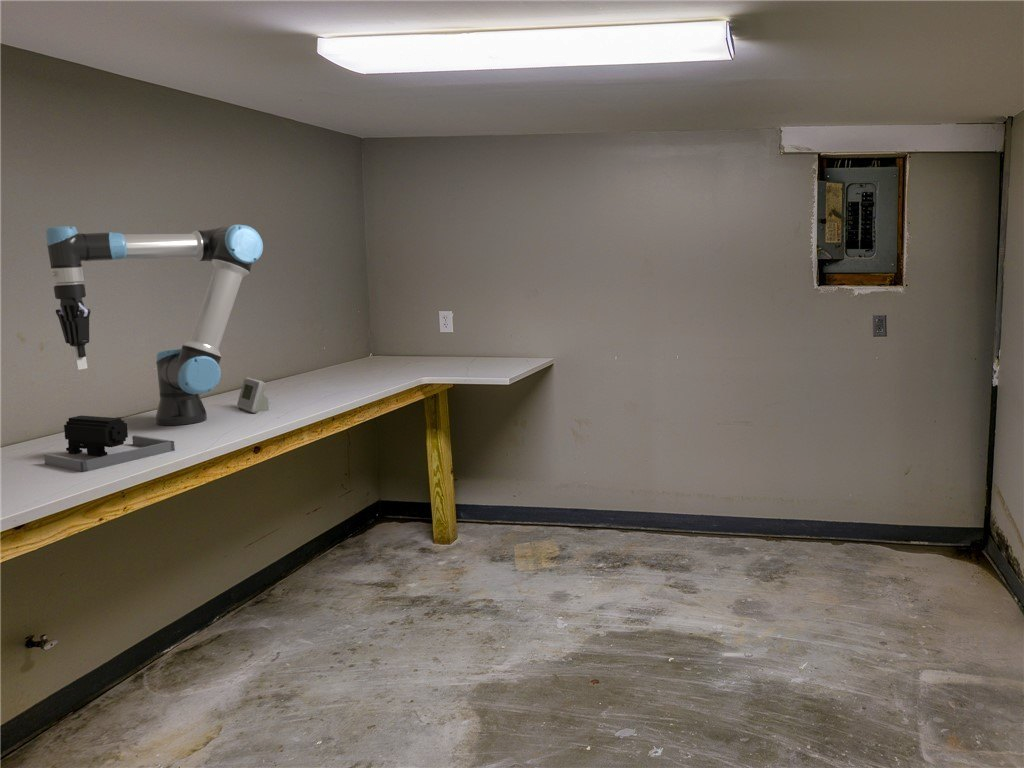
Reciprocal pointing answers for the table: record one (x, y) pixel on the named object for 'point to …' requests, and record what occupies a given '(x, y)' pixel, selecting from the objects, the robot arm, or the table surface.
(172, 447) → the grey u-shaped frame
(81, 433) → the security camera
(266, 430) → the table surface
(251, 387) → the digital clock
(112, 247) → the robot arm
